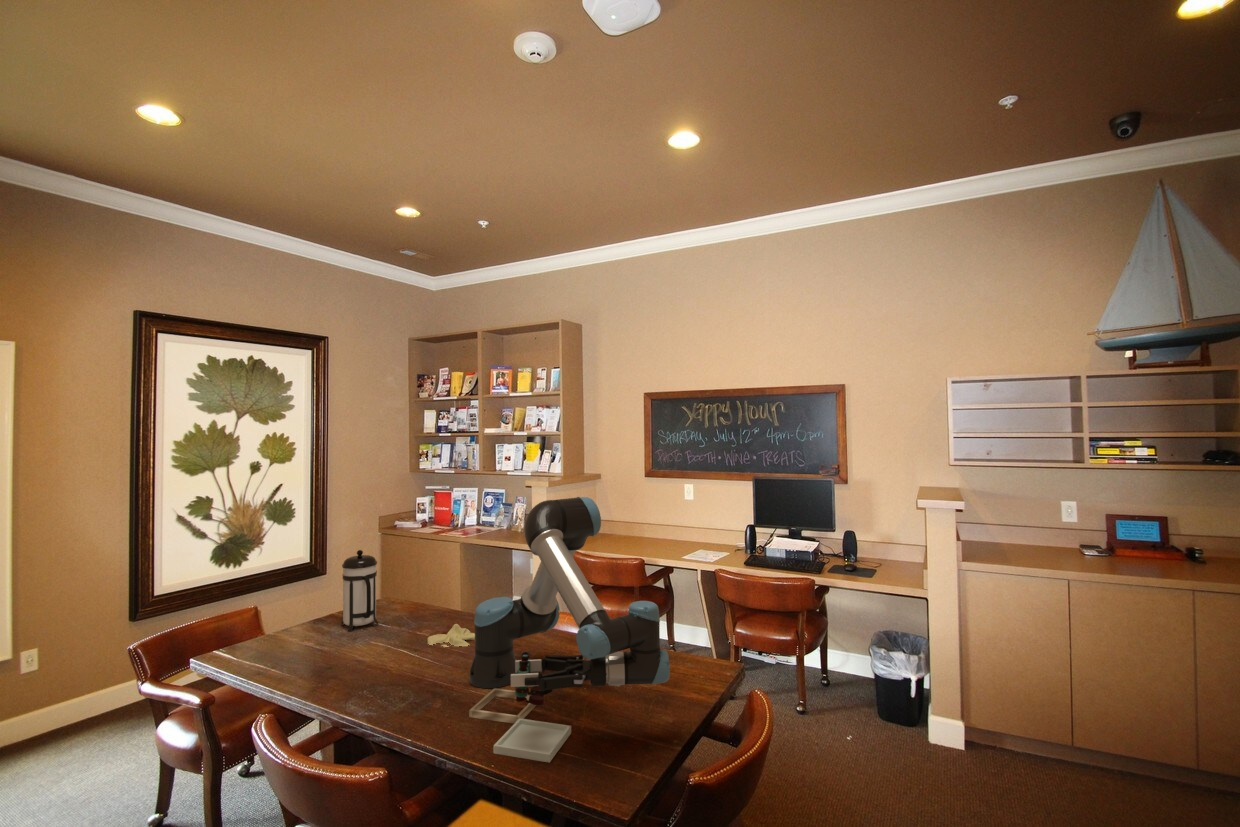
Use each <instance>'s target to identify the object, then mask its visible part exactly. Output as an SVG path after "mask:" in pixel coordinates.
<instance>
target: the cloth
mask: <svg viewBox="0 0 1240 827" xmlns="http://www.w3.org/2000/svg"><path fill="white" fill-rule="evenodd" d="M426 640H427V645H428V644H429V645H432V646H434V645H433V644H435V645H437V644H436V643H440V644H441V645H440V647H442V646H443V647H442V648H445V647H450V646H451V645H454V646H453V647H459V646H462V647H469V646H470V645H471V644H470V643H469V642H467V641H475V632H471V631H470V630H469V629H468V628H466V627H461V626H460V625H459V624H458V623H455V624H453V625H452V628H450V629H449V631H448V632H447V633H446V634H443V633H442V634H441V633H438V634H433V635H430V636H428V637H427V639H426ZM465 640H466V641H465ZM443 642H445V643H448V642H449V643H450V644H451V645H448V644H449V643H448V644H444V643H443ZM429 645H428V646H429ZM447 645H448V646H447ZM468 645H469V646H468Z"/></svg>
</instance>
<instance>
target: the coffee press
mask: <svg viewBox="0 0 1240 827" xmlns="http://www.w3.org/2000/svg"><path fill="white" fill-rule="evenodd" d="M377 564H378V560H376V558H375V557H374V556H373V555H368V554H364V551H363V550H362V549H359V550H357V552H356V555H353V556H350V557H347V558H346V559H345V560H344V561H343V563H342V565H341V568H342V571H343V572H342V594H343V595H342V596H343V597H342V603H343V604H342V616H343V617H342V622H341V624H340V625H341V626H342V625H343V624H345V625H346V626H348V627H347V632H353V631H354V629H355V627H359V626H360V627H361V626H365V625H368V624H371V625H372V626H373V627H377V626H378V625H379V621H378V620H377V572H378V571H377ZM374 622H375V623H374ZM345 625H344V626H345ZM374 625H376V626H374Z"/></svg>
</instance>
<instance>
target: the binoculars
mask: <svg viewBox="0 0 1240 827" xmlns="http://www.w3.org/2000/svg"><path fill="white" fill-rule="evenodd" d="M530 655H531V654H530V652H529V651H523V652H521V654H520V658H521V660H522V661H519V666H518V671H517V673H514V674H527V673H531V672H530V666H531V662H530V661H529V660H530V659H529V658H530ZM553 690H554V689H552V690H541V687H539V686H524V687H514V691H515V694H516V699H514V702H513V703H514V706H515V707H521V706H524V705H525V704H529V703H531V704H533V705H536V706H543V705H544V701H545V695H548V694H550V693H552V692H553ZM530 694H531V695H532V696H531V695H530ZM527 695H529V701H528V700H527V698H525V697H526V696H527Z"/></svg>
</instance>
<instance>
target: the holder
mask: <svg viewBox="0 0 1240 827" xmlns="http://www.w3.org/2000/svg"><path fill="white" fill-rule="evenodd" d="M530 695H531V694H530ZM531 696H532V695H531ZM495 697H500V698H507V699H514V700H515V699H516V694H515V690H510V689H502V688H492V690H490V691H489V692H488V693H487V694H485V696H483V697H482V698H481V699H480V700H479V701H478V702H477V703H476V704H474V705H473V706H472V707H471V708H470V709H469V710H468V718H474V719H479V720H486V721H492V722H502V723H507V724H512V725H514V724H515V722H516V721H517V720H518V719H519V718H520V719H526V717H527V716H528V715H529V714H530V713H531V711H532V710H534V708H535V707H536V706H537V705H533V704H531V703H527V705H526V706H525V707H524V708H522V710H521V711H520V712H519V713H518V714H510V713H503V712H498V711H497V712H496V711H488V710H482V709H483V708H484V707H485V706H486V705H488V704H489V703H490V702H491V701H492V700H493V699H494V698H495ZM525 698H527V701H529V695H527V696H526V697H525Z"/></svg>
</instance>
